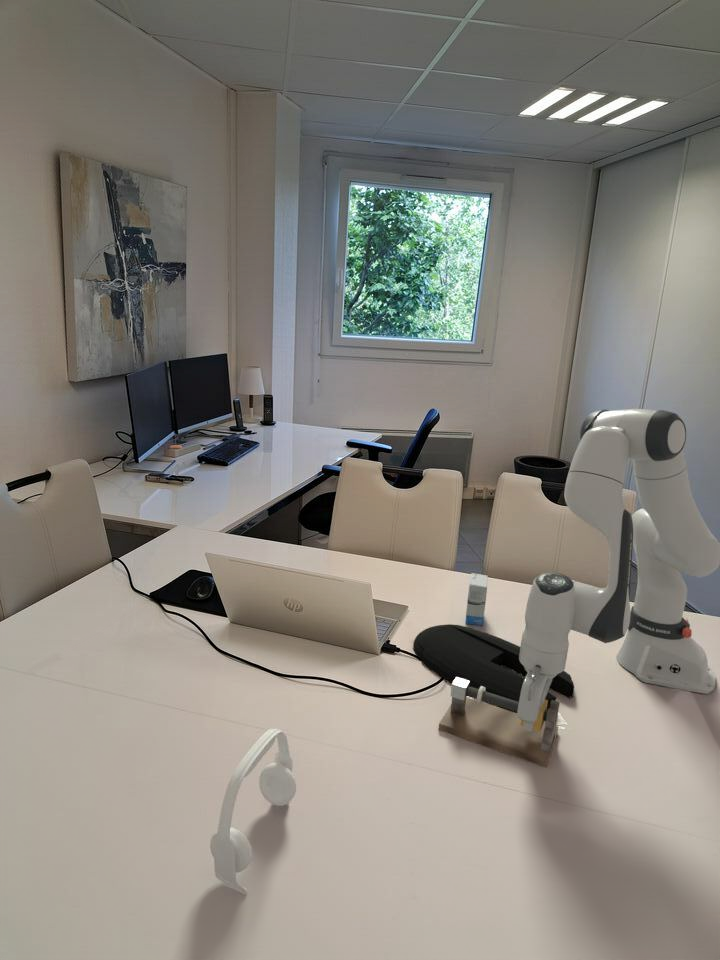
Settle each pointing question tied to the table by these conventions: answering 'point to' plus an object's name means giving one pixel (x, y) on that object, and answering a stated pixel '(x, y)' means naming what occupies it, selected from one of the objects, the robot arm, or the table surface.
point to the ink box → (476, 599)
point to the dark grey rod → (495, 699)
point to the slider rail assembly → (503, 730)
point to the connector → (459, 695)
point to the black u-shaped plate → (480, 661)
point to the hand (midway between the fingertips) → (533, 715)
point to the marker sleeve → (539, 717)
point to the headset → (276, 789)
